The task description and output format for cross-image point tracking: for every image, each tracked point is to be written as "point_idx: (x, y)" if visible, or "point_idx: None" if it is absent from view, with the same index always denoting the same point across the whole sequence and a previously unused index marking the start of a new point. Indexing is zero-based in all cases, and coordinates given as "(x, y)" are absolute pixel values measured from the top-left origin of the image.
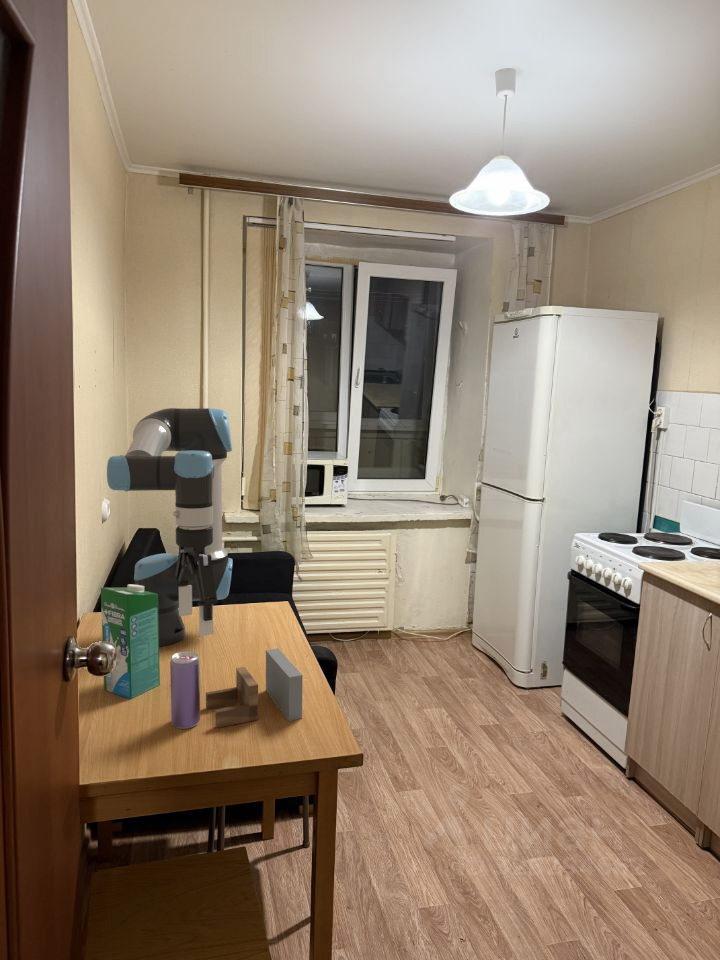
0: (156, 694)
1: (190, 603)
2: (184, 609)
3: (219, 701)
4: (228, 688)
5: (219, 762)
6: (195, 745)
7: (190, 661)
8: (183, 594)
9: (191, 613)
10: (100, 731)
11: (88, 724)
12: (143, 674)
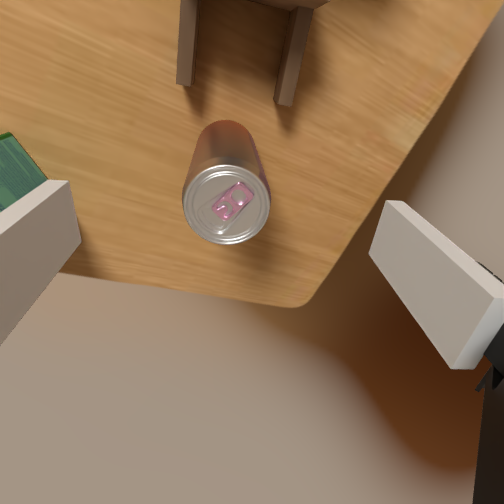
0: (64, 156)
1: (37, 216)
2: (63, 236)
3: (195, 48)
4: (180, 7)
5: (391, 152)
6: (314, 165)
7: (269, 204)
8: (10, 298)
9: (66, 186)
10: (180, 276)
11: (147, 285)
12: (24, 193)
